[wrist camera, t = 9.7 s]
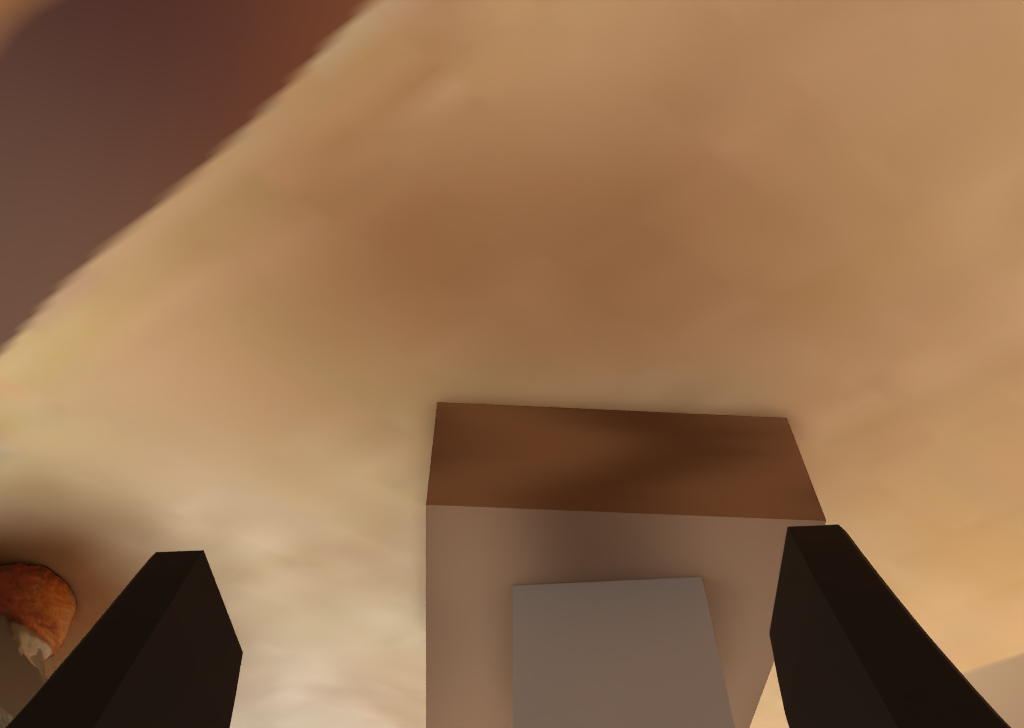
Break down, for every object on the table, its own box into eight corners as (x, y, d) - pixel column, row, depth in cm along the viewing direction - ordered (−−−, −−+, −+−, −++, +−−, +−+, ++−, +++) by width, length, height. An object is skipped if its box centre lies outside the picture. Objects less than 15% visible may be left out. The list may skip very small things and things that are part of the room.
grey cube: (701, 576, 21) (740, 754, 18) (692, 689, 24) (724, 864, 20) (512, 585, 22) (513, 763, 18) (524, 696, 24) (526, 871, 21)
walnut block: (783, 409, 23) (826, 520, 20) (717, 627, 29) (743, 743, 26) (438, 393, 23) (426, 504, 20) (435, 617, 28) (425, 733, 25)
